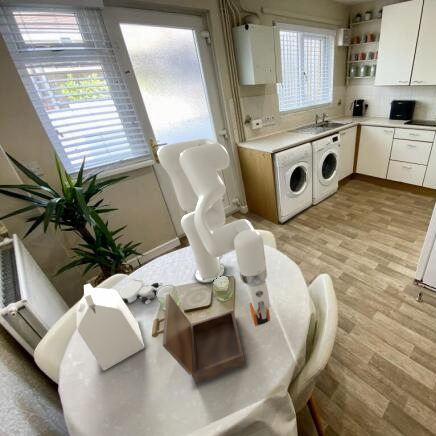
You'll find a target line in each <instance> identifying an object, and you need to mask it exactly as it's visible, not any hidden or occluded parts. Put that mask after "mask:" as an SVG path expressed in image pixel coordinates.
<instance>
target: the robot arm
mask: <svg viewBox="0 0 436 436" xmlns="http://www.w3.org/2000/svg"><path fill="white" fill-rule="evenodd" d="M157 158H158V160H159V163H160V165H161V166H162V168H163V169H164V171H165V172H166V173H167V175H168V176H169V178H170V180H171V182H172V184H173V189H174V192H175V195H176V199H177V201H178V204H179V207H180V208H181V210H182V211H184V212H187V214H185V215H184V216H183V217H182V218H181V220H180V226H181V228H182V231H183V232H184V234H185V236H186V238H187V240H188V244H189V247H190V250H191V252H192V256H193V259H194V262H195V266H196V269H197V270H196V272H195V278H196V280H197V281H198V282H200V283H205V284H206V283H212V282H214V281H213V280H214V279H215V278H217V277H218V276H221V277H222V276H223V274H224V273H225V267H224V265H223V264H222V263H221V260H222V259H223V257H224V255H225V256H226V255H227V254H229V253H231V252H234V251H235V257H236V262H237V267H238V272H239V276H240V281H241V282H242V284H244V285H245V286H246V290H247V293H248V294H247V295H248V298H249V300H250V303H252V306H253V308H254V311H255V312H257V315H256V317H257V323H258V325H257V326H261V325H265V324H266V323H268V322H269V321H268V317H267V312H266V308H267V309H269V310H270V309H271V301H270V295H269V290H268V285H267V282H266V280H267V277H268V270H267V261H266V254H265V244H264V238H263V236H262V234H261V233H260V232H259V231H257V230H256V229H255V228H254V225H253V224H252V222H251V221H249V220H248V219H246V218H240V219H237V220H234V221H232V222H230V223H227V224H225V223H226V220H227V217H226V212H225V207H224V203H223V198H222V197H224V195H225V194H226V192H227V188H226V185H225V183H224V181H223V180H222V178H221V176H220V174H219V173H218V171H219V172H220V171H222V170H226V169H227V168H229V166H230V164H231V163H230V160H231V159H230V155H229V152H228V151H227V150H226V148H225V147H224V146H223V145H222V144H221V143H220V142H217V141H215V140H211V139H209V138H200V139H193V140H186V141H179V142H174V143H169V144H166V145H162V146H161V147H160V148H158V150H157ZM188 212H189V213H188ZM259 310H260V312H261V313H259Z"/></svg>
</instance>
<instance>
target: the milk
mask: <svg viewBox="0 0 436 436" xmlns="http://www.w3.org/2000/svg"><path fill="white" fill-rule="evenodd" d="M118 293H119V291H118V290H116V289H113V288H103V287H102V288H100V287H93V286H92V285H91V283H86V284H84V285H83V296H82V297H81V299H80V300H79V302H78V303H77V305H76V308H75V312H76V314H75V315H76V316H75V317H76V319H75V320H76V329H77V332H78V334H79V335H80V337H81V339H82V340H83V342H84V343H85V345H86V346H87V348H88V349H89V351H90V352H91V354H92V355H93V357H94V358H95V360H96V361H97V363H98V364H99V366H100V367H101V369H102V370H103V371H107V370H108V369H110V368H111V367H113V366H115V365H116V364H118V363H120V362H122V361H124V360H125V359H127V358H130V356H132V355H135V354H136V353H138V352H139V351H141V350H143V349H145V343H144V340H143V336H142V333H141V328H140V326H139V323H138V321H137V320H136V318H135V316H134V315H133V314H132V312H131V311H130V309H129V307H128V306H127V303H124V301H123V300H122V298H121V297H120V295H119V294H118Z"/></svg>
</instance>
